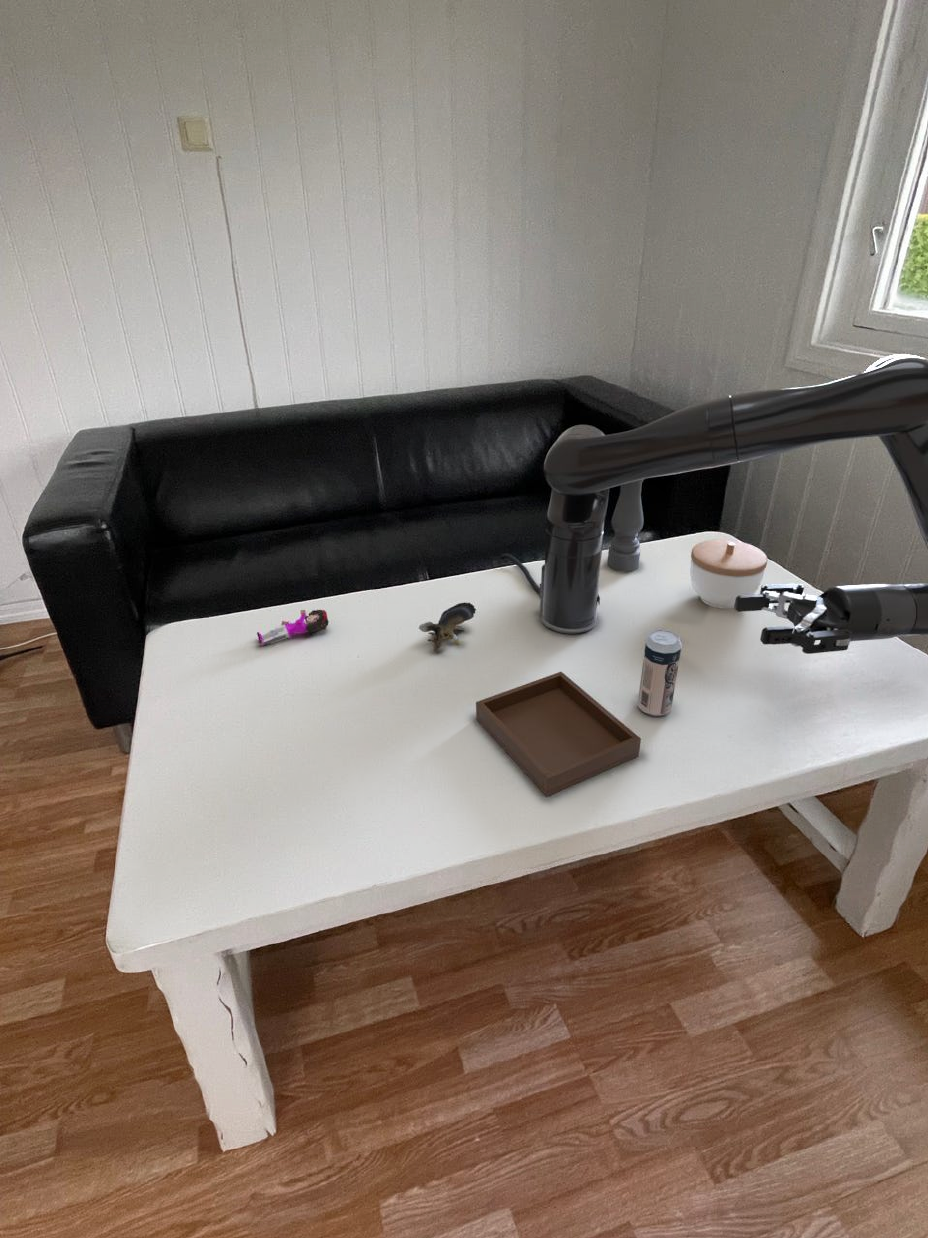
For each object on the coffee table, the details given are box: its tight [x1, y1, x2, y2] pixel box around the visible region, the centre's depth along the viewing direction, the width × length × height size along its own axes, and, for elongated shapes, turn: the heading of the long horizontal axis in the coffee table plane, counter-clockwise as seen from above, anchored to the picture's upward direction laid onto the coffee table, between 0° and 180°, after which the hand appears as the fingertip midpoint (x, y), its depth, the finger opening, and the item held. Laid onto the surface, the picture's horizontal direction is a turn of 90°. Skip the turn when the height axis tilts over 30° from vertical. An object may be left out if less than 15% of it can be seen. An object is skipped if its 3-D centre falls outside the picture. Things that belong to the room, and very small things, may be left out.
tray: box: [475, 671, 642, 797], centre depth 94 cm, size 18×15×3 cm
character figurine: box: [256, 609, 330, 647], centre depth 118 cm, size 6×5×12 cm
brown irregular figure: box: [418, 601, 477, 653], centre depth 115 cm, size 8×7×9 cm
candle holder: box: [606, 479, 645, 573], centre depth 133 cm, size 6×6×25 cm
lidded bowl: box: [689, 539, 768, 610], centre depth 124 cm, size 13×13×11 cm
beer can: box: [637, 629, 683, 716], centre depth 97 cm, size 5×5×12 cm
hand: (748, 619), depth 93 cm, fingers open, 8 cm apart
